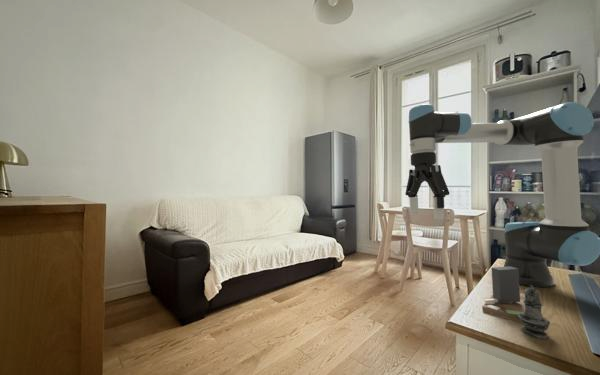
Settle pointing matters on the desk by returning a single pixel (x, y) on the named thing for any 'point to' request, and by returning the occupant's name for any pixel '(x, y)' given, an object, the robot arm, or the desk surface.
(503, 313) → the board
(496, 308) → the dial marks
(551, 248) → the robot arm
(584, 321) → the desk surface
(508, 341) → the desk surface
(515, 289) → the grey block
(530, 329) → the dark grey chess piece
